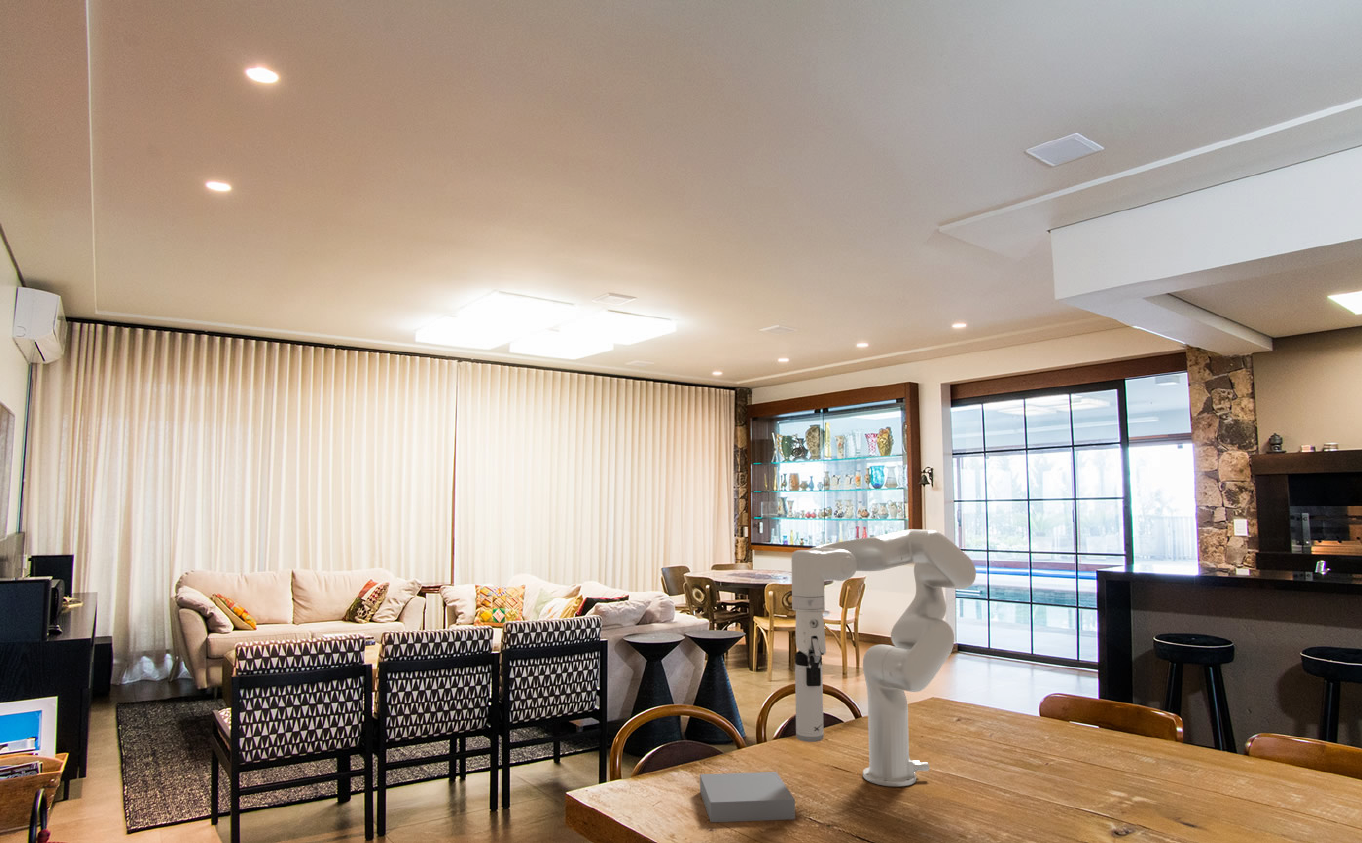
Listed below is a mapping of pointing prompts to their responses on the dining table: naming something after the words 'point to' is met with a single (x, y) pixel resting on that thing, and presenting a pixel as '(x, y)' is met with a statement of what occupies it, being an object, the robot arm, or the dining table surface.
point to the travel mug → (808, 703)
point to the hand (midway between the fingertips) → (809, 681)
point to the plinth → (746, 797)
